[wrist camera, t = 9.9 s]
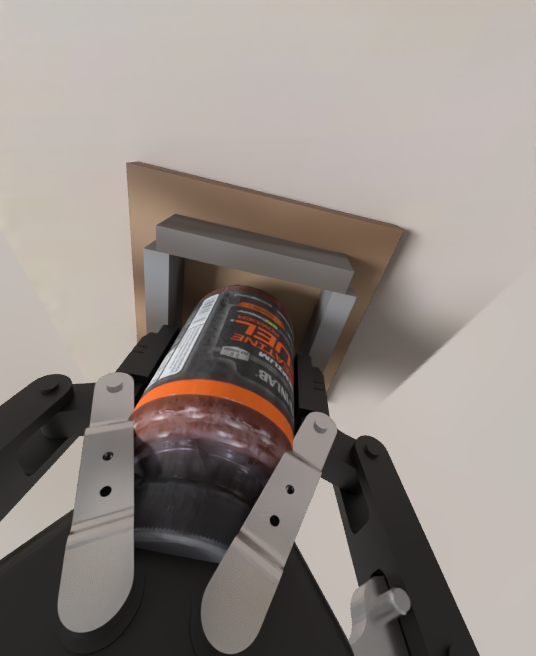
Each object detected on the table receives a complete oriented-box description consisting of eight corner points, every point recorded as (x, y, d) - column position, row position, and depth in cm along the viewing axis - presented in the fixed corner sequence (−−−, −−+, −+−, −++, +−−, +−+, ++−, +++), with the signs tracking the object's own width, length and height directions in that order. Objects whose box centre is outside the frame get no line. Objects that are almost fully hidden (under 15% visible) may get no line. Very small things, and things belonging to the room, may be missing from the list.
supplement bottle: (315, 321, 16) (352, 582, 6) (254, 379, 19) (218, 619, 9) (227, 257, 14) (102, 487, 5) (175, 331, 17) (31, 568, 8)
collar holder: (137, 161, 14) (95, 166, 11) (396, 225, 15) (423, 245, 12) (146, 363, 22) (122, 398, 19) (317, 397, 23) (321, 437, 20)
